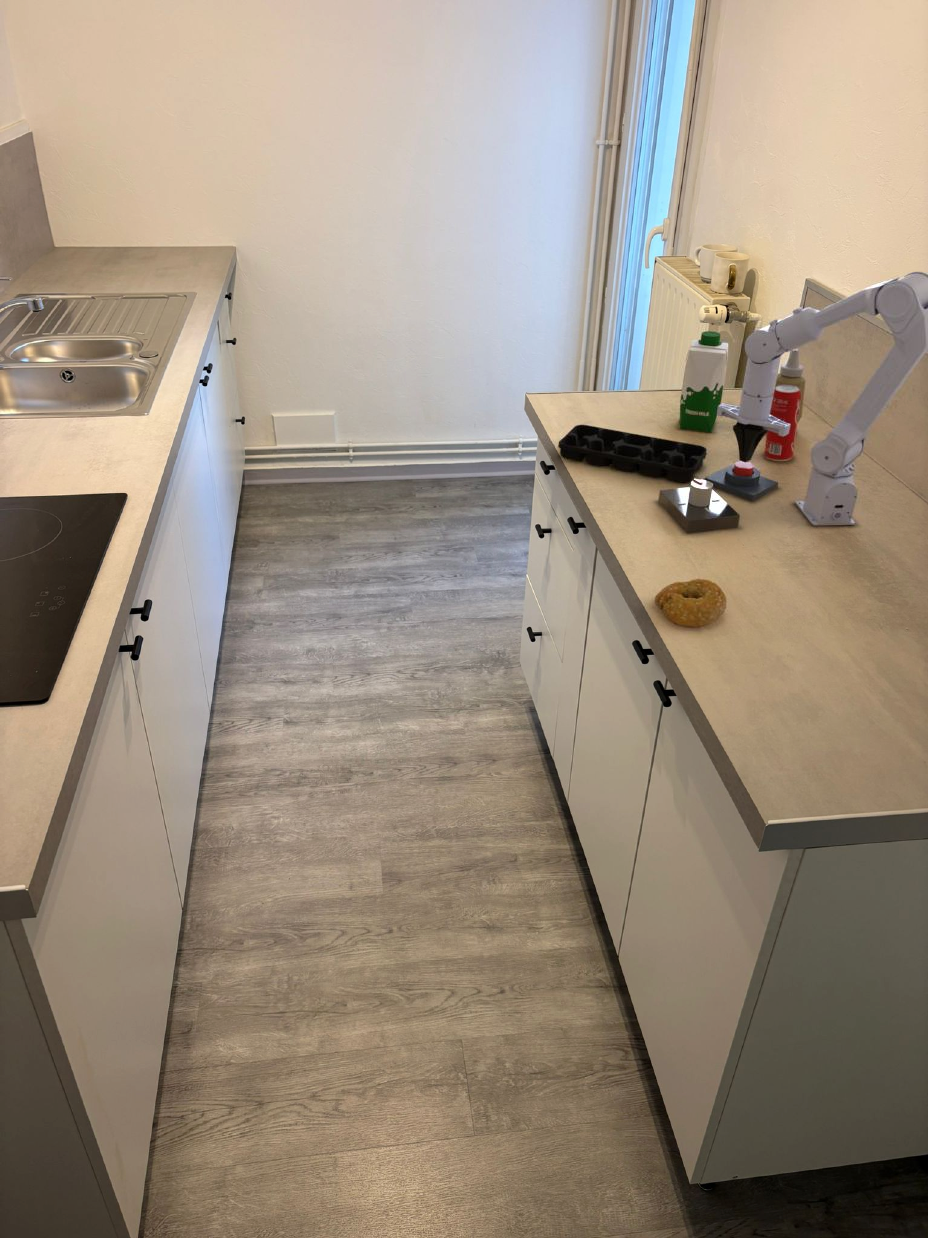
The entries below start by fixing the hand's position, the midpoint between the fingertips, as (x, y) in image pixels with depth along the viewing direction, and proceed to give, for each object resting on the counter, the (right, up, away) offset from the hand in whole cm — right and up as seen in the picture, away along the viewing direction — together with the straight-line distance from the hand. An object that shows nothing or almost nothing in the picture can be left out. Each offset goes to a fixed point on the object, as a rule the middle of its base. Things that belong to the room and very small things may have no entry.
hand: (745, 459), depth 187 cm
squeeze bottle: (+16, +11, +29) cm, 35 cm away
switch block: (0, -5, +3) cm, 6 cm away
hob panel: (-11, -11, -8) cm, 18 cm away
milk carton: (-2, +13, +30) cm, 33 cm away
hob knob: (-11, -9, -9) cm, 17 cm away
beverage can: (+11, +3, +16) cm, 19 cm away
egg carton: (-20, +2, +12) cm, 24 cm away
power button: (0, -2, +1) cm, 3 cm away
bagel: (-19, -30, -36) cm, 51 cm away
